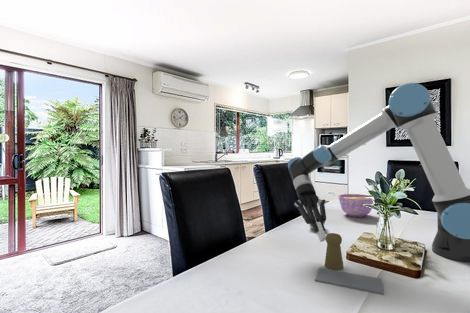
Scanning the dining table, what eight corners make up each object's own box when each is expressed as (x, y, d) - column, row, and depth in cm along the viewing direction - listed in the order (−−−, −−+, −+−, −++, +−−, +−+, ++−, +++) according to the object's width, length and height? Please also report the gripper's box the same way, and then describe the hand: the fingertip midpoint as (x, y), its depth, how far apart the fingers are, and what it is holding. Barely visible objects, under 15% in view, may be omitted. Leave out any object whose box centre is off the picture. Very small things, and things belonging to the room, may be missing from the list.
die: (326, 228, 134) (317, 211, 139) (330, 224, 127) (320, 206, 131) (312, 235, 133) (303, 218, 138) (315, 231, 126) (305, 213, 130)
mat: (381, 279, 78) (381, 278, 78) (383, 294, 70) (383, 293, 70) (319, 268, 86) (319, 267, 86) (314, 280, 78) (314, 279, 78)
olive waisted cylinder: (331, 271, 84) (331, 237, 84) (321, 263, 90) (320, 232, 90) (347, 268, 86) (347, 235, 86) (335, 261, 92) (335, 230, 92)
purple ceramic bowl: (375, 213, 162) (375, 195, 162) (373, 221, 145) (373, 200, 145) (341, 210, 172) (341, 193, 172) (335, 217, 155) (335, 197, 155)
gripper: (316, 192, 114) (336, 243, 98) (287, 193, 113) (303, 245, 96) (321, 182, 109) (343, 233, 93) (291, 183, 107) (309, 235, 91)
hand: (323, 239), depth 95 cm, fingers closed
